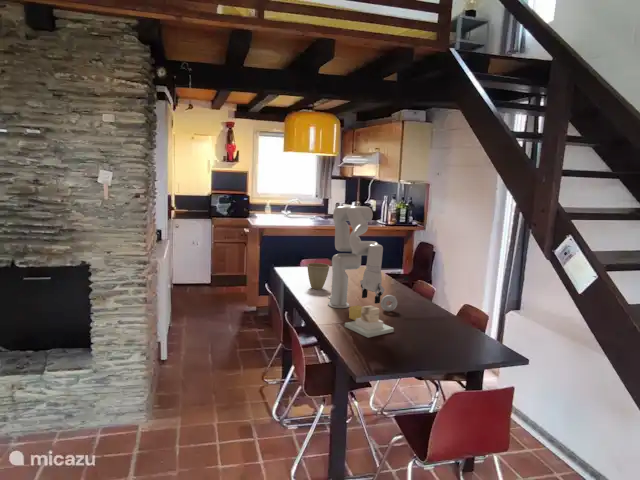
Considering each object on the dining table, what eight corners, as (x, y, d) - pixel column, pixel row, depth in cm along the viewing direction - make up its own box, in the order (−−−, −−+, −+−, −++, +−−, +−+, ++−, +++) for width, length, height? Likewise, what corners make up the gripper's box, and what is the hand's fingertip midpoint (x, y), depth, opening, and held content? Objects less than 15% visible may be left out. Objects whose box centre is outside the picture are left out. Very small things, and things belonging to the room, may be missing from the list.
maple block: (360, 318, 252) (361, 306, 251) (370, 317, 256) (371, 305, 255) (369, 322, 247) (370, 310, 246) (378, 320, 250) (379, 308, 249)
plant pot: (327, 291, 320) (329, 268, 317) (305, 290, 320) (306, 266, 317) (328, 286, 335) (329, 263, 332) (306, 284, 335) (307, 262, 332)
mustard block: (349, 317, 268) (349, 306, 267) (357, 316, 272) (358, 305, 271) (356, 321, 263) (357, 309, 262) (365, 319, 267) (366, 308, 266)
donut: (380, 312, 283) (382, 295, 281) (379, 310, 286) (380, 293, 284) (397, 312, 284) (398, 295, 282) (395, 310, 287) (397, 294, 286)
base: (344, 326, 253) (345, 317, 253) (369, 321, 264) (370, 312, 263) (367, 337, 239) (368, 328, 238) (393, 331, 250) (394, 322, 249)
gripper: (356, 265, 251) (354, 296, 254) (380, 273, 238) (376, 306, 241) (367, 263, 256) (364, 295, 259) (390, 271, 242) (387, 304, 245)
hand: (370, 300), depth 250 cm, fingers open, 9 cm apart
